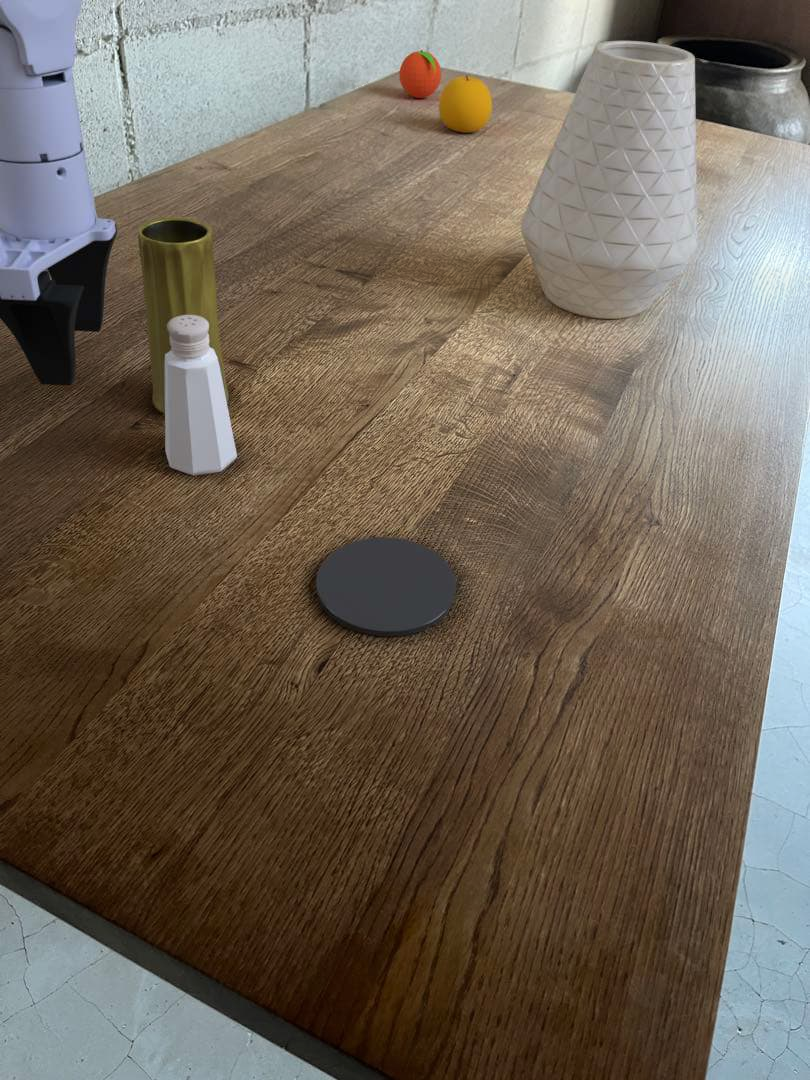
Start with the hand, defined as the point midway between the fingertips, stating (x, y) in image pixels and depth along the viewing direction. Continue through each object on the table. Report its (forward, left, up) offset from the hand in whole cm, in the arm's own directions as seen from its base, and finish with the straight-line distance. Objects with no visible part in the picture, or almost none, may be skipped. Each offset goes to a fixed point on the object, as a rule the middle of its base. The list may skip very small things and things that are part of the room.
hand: (72, 354), depth 63 cm
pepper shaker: (+8, +1, -9) cm, 12 cm away
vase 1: (+6, +9, -9) cm, 14 cm away
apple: (+34, +91, -9) cm, 97 cm away
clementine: (+28, +108, -9) cm, 111 cm away
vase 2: (+44, +33, -9) cm, 55 cm away
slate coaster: (+22, -13, -9) cm, 27 cm away
